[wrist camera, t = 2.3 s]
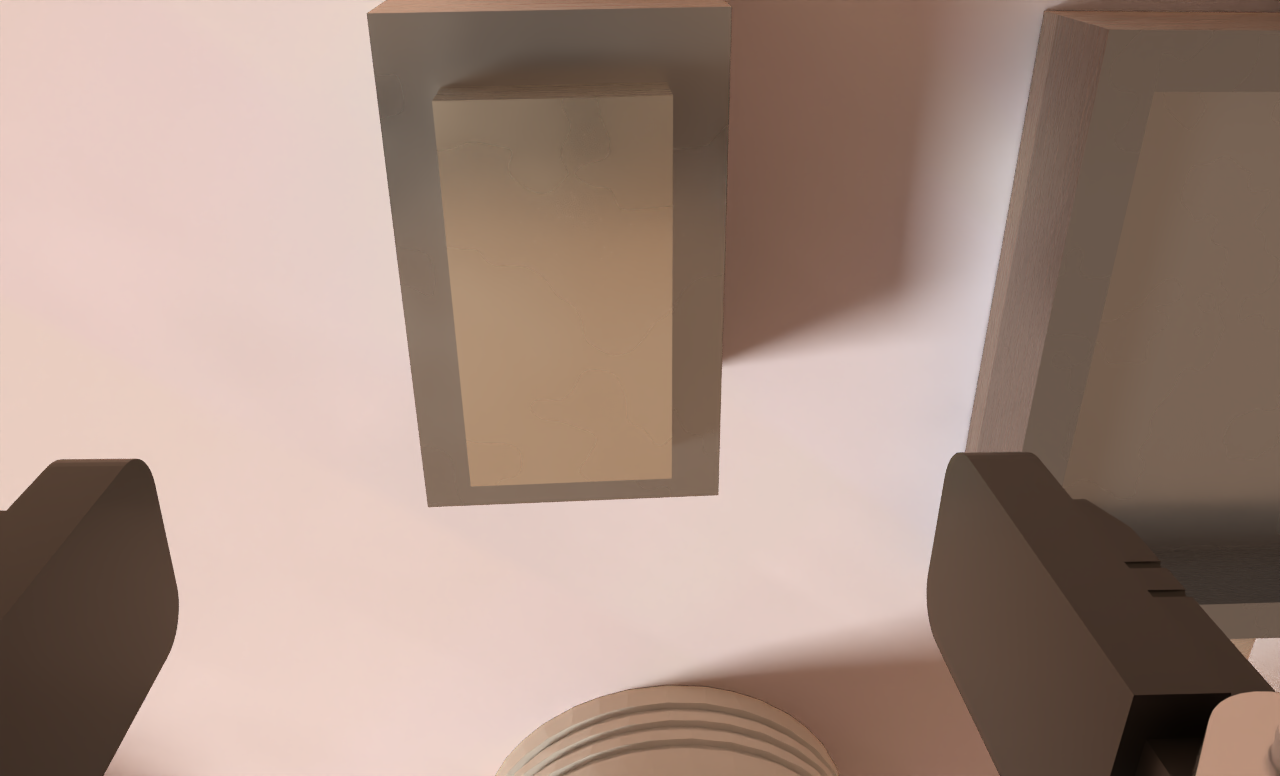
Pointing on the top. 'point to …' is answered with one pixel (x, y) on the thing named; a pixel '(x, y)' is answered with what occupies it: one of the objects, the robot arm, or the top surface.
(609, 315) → the stepped two-tone block
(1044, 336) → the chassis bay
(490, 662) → the top surface
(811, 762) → the engine component
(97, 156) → the top surface
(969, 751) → the top surface
